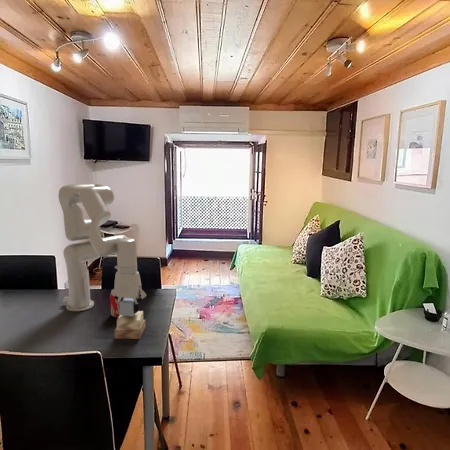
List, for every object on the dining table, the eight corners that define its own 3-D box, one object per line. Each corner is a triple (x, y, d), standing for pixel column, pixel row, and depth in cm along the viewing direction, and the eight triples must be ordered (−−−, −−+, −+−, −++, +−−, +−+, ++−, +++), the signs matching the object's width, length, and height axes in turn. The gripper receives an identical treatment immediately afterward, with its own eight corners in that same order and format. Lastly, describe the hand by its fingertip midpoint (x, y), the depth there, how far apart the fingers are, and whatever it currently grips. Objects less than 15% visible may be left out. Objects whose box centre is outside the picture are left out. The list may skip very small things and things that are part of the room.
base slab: (115, 339, 143) (114, 330, 142) (122, 327, 153) (122, 319, 152) (139, 339, 143) (139, 330, 142) (145, 328, 153) (145, 319, 152)
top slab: (117, 330, 142) (116, 320, 142) (122, 320, 151) (121, 311, 151) (139, 329, 143) (139, 320, 142) (143, 319, 152) (143, 311, 151)
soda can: (112, 319, 160) (111, 294, 158) (109, 313, 166) (108, 289, 164) (128, 316, 163) (127, 291, 161) (124, 310, 170) (123, 286, 167)
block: (119, 315, 144) (119, 302, 143) (126, 309, 149) (125, 297, 148) (132, 316, 143) (131, 303, 142) (138, 310, 148) (137, 298, 147)
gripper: (103, 270, 141) (105, 313, 144) (143, 273, 138) (145, 317, 141) (112, 265, 148) (114, 306, 151) (151, 267, 145) (152, 309, 148)
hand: (129, 310), depth 146 cm, fingers closed on block, 5 cm apart
